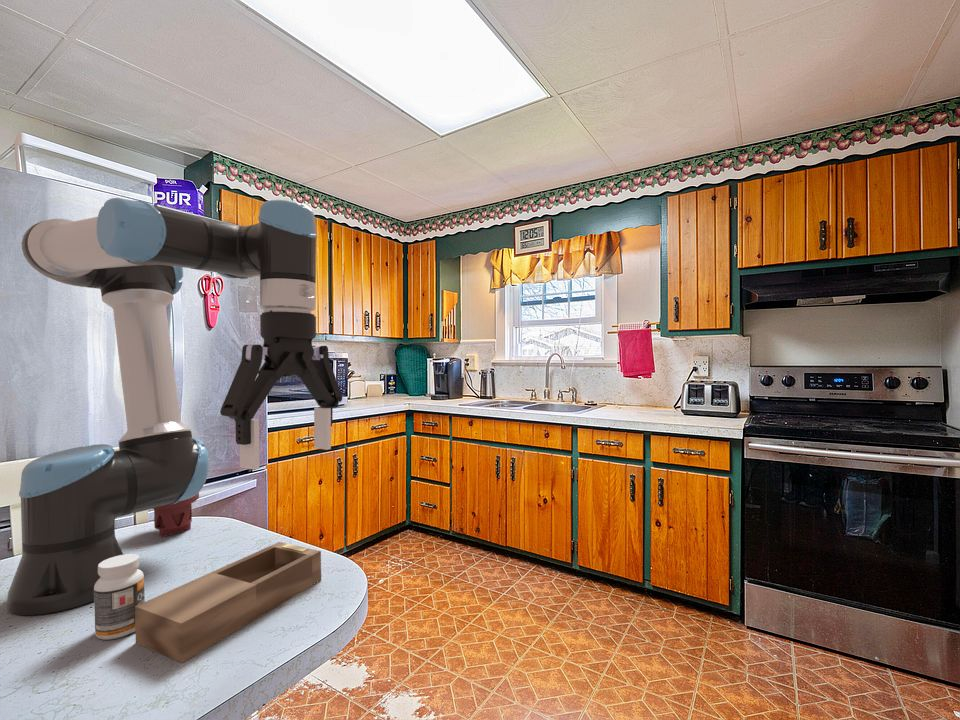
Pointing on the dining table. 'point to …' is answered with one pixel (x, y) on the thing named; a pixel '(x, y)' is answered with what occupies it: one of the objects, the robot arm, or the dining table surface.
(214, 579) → the brown wooden open box
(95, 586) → the pill bottle
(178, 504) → the mechanical component
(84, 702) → the dining table surface
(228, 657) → the dining table surface
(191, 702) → the dining table surface
